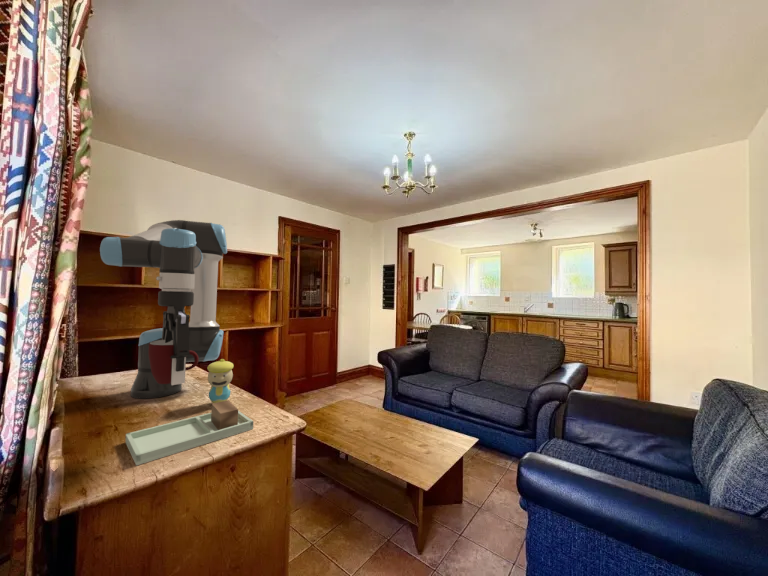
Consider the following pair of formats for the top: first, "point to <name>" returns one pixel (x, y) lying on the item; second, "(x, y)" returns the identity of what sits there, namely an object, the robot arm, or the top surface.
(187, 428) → the jig
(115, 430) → the top surface
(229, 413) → the brown rectangular block
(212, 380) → the toy
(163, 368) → the mug
